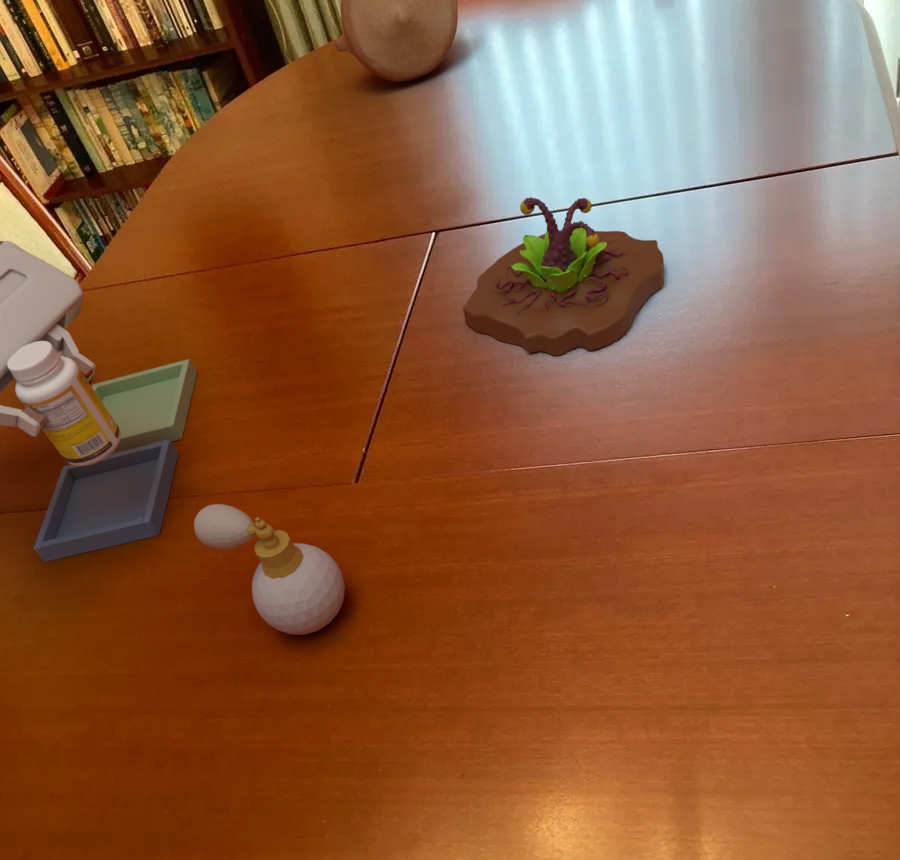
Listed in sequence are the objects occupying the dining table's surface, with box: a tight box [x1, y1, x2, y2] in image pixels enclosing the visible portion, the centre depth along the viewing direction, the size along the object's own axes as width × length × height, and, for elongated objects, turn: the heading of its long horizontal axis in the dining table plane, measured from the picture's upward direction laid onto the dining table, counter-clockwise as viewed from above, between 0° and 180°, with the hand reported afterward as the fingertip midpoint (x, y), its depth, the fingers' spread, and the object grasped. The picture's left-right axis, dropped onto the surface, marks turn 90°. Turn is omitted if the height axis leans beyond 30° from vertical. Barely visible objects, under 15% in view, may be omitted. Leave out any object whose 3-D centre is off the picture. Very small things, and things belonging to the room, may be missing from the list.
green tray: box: [91, 358, 198, 454], centre depth 101 cm, size 13×13×2 cm
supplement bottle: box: [7, 341, 121, 466], centre depth 76 cm, size 6×6×10 cm
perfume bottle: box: [193, 503, 346, 636], centre depth 70 cm, size 8×10×12 cm
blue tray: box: [33, 440, 179, 563], centre depth 91 cm, size 13×13×2 cm
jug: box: [334, 0, 459, 83], centre depth 148 cm, size 20×19×30 cm
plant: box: [462, 196, 665, 357], centre depth 91 cm, size 20×20×11 cm
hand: (66, 401), depth 76 cm, fingers closed on supplement bottle, 5 cm apart
